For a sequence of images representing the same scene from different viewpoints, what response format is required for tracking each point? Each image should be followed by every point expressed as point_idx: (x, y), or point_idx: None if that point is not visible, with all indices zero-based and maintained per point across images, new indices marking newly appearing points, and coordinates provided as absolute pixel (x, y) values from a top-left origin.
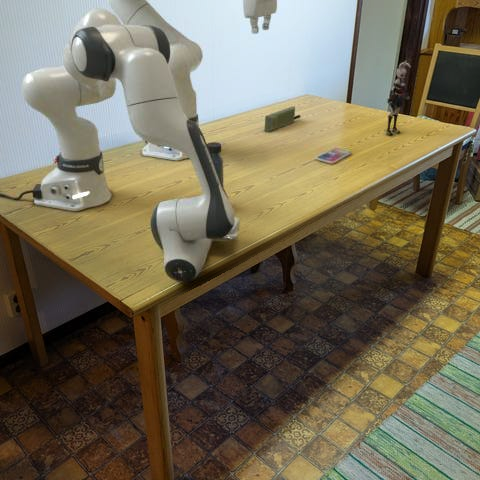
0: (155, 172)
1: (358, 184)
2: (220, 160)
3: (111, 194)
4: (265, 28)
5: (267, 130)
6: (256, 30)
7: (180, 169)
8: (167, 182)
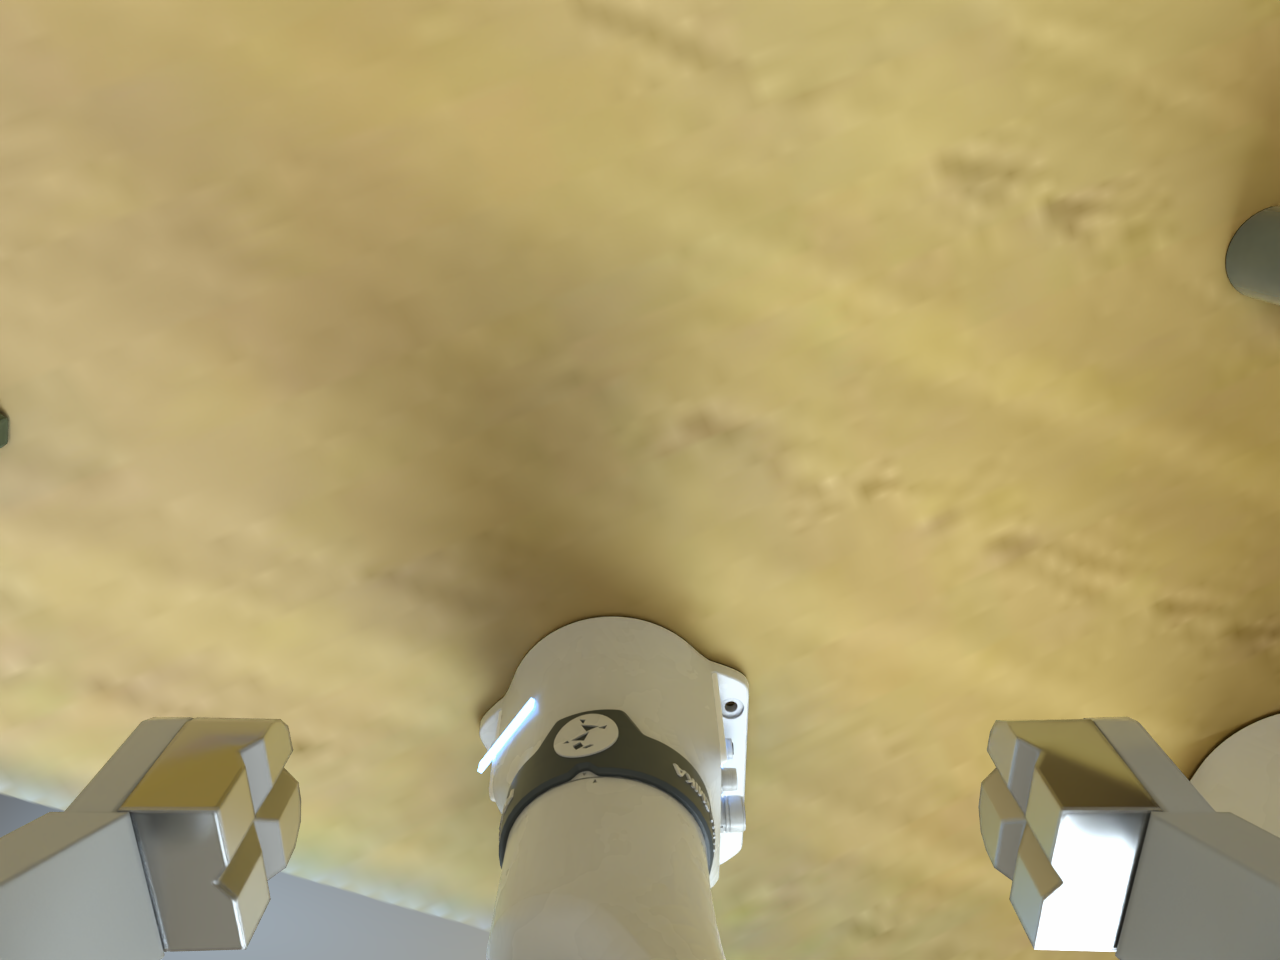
0: (927, 695)
1: None
2: None
3: (1240, 730)
4: (277, 780)
5: (1, 424)
6: (1163, 770)
7: (849, 613)
8: (1032, 592)
